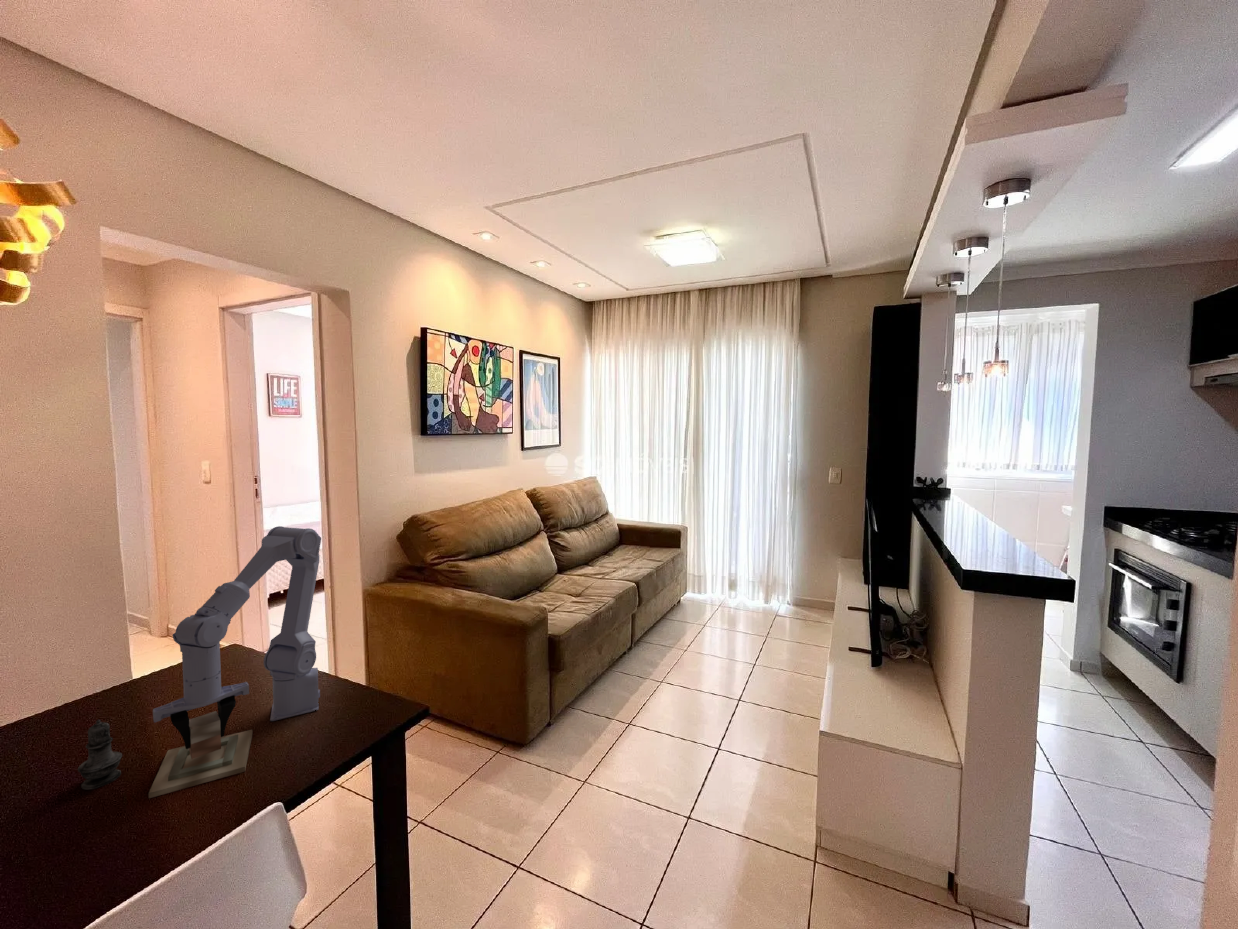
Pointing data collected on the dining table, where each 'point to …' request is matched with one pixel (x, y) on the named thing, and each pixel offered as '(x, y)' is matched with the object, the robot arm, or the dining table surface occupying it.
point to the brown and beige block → (204, 734)
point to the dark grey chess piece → (99, 758)
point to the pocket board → (202, 765)
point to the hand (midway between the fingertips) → (204, 740)
